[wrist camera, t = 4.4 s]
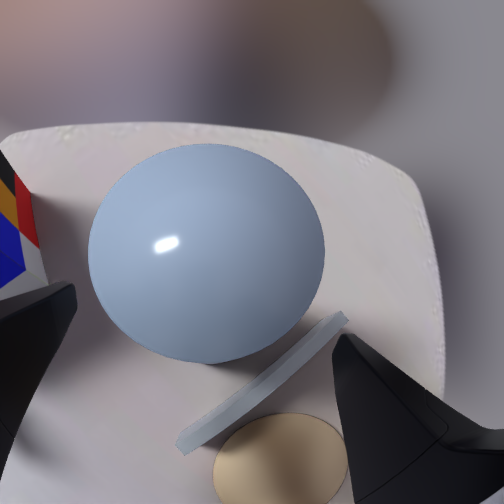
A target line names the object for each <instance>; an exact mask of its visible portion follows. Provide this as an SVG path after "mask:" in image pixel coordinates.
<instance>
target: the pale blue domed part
mask: <svg viewBox="0 0 504 504" xmlns="http://www.w3.org/2000/svg"><path fill="white" fill-rule="evenodd" d="M324 257H325V246H324V236H323V232H322V227H321V223H320V220H319V218H318V215H317V213H316V210H315V208H314V206H313V204H312V203H311V201H310V199H309V197H308V196H307V194H306V193H305V192H304V190H303V189H302V188H301V186H300V185H299V184H298V183H297V182H296V181H295V180H294V179H293V178H292V177H291V176H290V175H289V174H288V173H287V172H285V171H284V170H283V169H282V168H280V167H279V166H277V165H276V164H274V163H273V162H271V161H270V160H268V159H266V158H264V157H262V156H260V155H258V154H255V153H253V152H250V151H248V150H244V149H241V148H237V147H233V146H227V145H219V144H194V145H187V146H181V147H177V148H173V149H169V150H166V151H164V152H161V153H158V154H156V155H154V156H152V157H150V158H148V159H146V160H144V161H143V162H141V163H139V164H138V165H136V166H135V167H133V168H132V169H131V170H130V171H128V172H127V173H126V174H125V175H124V176H123V177H122V178H121V179H120V180H119V181H118V182H117V183H116V184H115V185H114V186H113V187H112V189H111V190H110V191H109V192H108V194H107V195H106V197H105V198H104V200H103V202H102V203H101V205H100V207H99V209H98V211H97V214H96V216H95V218H94V221H93V225H92V228H91V232H90V238H89V245H88V263H89V270H90V277H91V280H92V283H93V287H94V290H95V292H96V295H97V297H98V299H99V301H100V303H101V305H102V307H103V308H104V310H105V311H106V313H107V314H108V316H109V317H110V318H111V320H112V321H113V322H114V323H115V324H116V325H117V326H118V327H119V328H120V329H121V331H123V332H124V333H125V334H126V335H128V336H129V337H130V338H131V339H133V340H134V341H135V342H137V343H138V344H140V345H142V346H143V347H145V348H147V349H149V350H150V351H153V352H155V353H158V354H160V355H163V356H165V357H169V358H173V359H177V360H181V361H186V362H195V363H204V364H217V363H222V362H226V361H230V360H234V359H238V358H242V357H244V356H247V355H250V354H253V353H255V352H258V351H260V350H262V349H263V348H265V347H267V346H269V345H271V344H273V343H274V342H275V341H277V340H278V339H279V338H281V337H282V336H283V335H285V334H286V333H287V332H288V331H289V330H290V329H291V328H292V327H293V326H294V325H295V324H296V323H297V322H298V321H299V320H300V319H301V317H302V316H303V315H304V313H305V312H306V311H307V309H308V308H309V306H310V304H311V302H312V301H313V299H314V297H315V295H316V293H317V290H318V287H319V284H320V281H321V278H322V273H323V268H324Z"/></svg>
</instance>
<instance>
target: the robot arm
mask: <svg viewBox="0 0 504 504" xmlns="http://www.w3.org/2000/svg"><path fill="white" fill-rule="evenodd" d="M76 310H77V298H76V291H75V286H74V284H73V283H70V282H66V281H62V282H58V283H55V284H52V285H48V286H45V287H42V288H39V289H35V290H32V291H29V292H26V293H22V294H19V295H16V296H13V297H10V298H7V299H3V300H0V480H1V477H2V474H3V470H4V467H5V464H6V461H7V458H8V455H9V453H10V450H11V447H12V444H13V442H14V438H15V436H16V434H17V431H18V429H19V426H20V424H21V422H22V419H23V417H24V415H25V413H26V410H27V408H28V406H29V404H30V402H31V400H32V397H33V395H34V393H35V391H36V389H37V387H38V385H39V383H40V381H41V379H42V377H43V376H44V374H45V372H46V370H47V368H48V366H49V364H50V362H51V361H52V359H53V357H54V355H55V353H56V352H57V350H58V348H59V346H60V344H61V342H62V340H63V338H64V336H65V334H66V332H67V329H68V327H69V325H70V323H71V321H72V319H73V317H74V315H75V313H76ZM332 364H333V374H334V385H335V394H336V400H337V405H338V410H339V415H340V420H341V425H342V431H343V436H344V441H345V447H346V452H347V458H348V464H349V470H350V476H351V483H352V489H353V496H354V503H355V504H504V429H497V430H494V429H487V428H484V427H482V426H480V425H478V424H477V423H475V422H473V421H472V420H470V419H469V418H467V417H465V416H464V415H462V414H461V413H459V412H457V411H456V410H455V409H453V408H452V407H450V406H449V405H447V404H446V403H444V402H443V401H441V400H440V399H439V398H437V397H436V396H434V395H433V394H432V393H431V392H429V391H428V390H425V388H424V387H423V386H421V385H420V384H419V383H417V382H416V381H415V380H413V379H412V378H411V377H409V376H408V375H407V374H406V373H404V372H403V371H402V370H400V369H399V368H398V367H396V366H395V365H394V364H392V363H391V362H390V361H389V360H387V359H386V358H385V357H383V356H382V355H381V354H379V353H378V352H377V351H375V350H374V349H373V348H372V347H370V346H369V345H368V344H366V343H365V342H364V341H362V340H361V339H360V338H358V337H357V336H356V335H355V334H351V333H343V334H341V335H340V337H339V339H338V341H337V344H336V346H335V348H334V350H333V353H332Z"/></svg>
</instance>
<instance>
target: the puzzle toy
mask: <svg viewBox="0 0 504 504" xmlns="http://www.w3.org/2000/svg"><path fill="white" fill-rule="evenodd" d="M48 285H49V284H48V280H47V277H46V273H45V269H44V265H43V261H42V257H41V253H40V249H39V244H38V239H37V234H36V229H35V223H34V217H33V211H32V204H31V196H30V192H29V190H28V189H27V188H26V186H25V185H24V184H23V182H22V181H21V179H20V178H19V177H18V175H17V174H16V172H15V171H14V170H13V168H12V167H11V165H10V164H9V162H8V161H7V159H6V158H5V156H4V155H3V153H2V152H1V150H0V300H3V299H7V298H10V297H13V296H16V295H19V294H22V293H26V292H29V291H32V290H35V289H39V288H42V287H45V286H48Z"/></svg>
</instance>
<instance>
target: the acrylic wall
mask: <svg viewBox="0 0 504 504" xmlns="http://www.w3.org/2000/svg"><path fill="white" fill-rule="evenodd" d="M348 321H349V320H348V319H347V317H346V316H345V315H344V314H343V313H342V311H339V312H337V313H335V314H333V315H330V316H328V317H326V318H324V319H322V320H321V321H320V322H319V323H318V324H317V325H316V326H315V327H314V328H312V329H311V330H310V331H309V332H308V333H307V334H306V335H305V336H304V337H303V338H302V339H300V340H299V341H298V342H297V343H296V344H295V345H294V346H293V347H291V348H290V349H289V350H288V351H287V352H286V353H285V354H283V355H282V356H281V357H280V358H279V359H278V360H276V361H275V362H274V363H273V364H272V365H270V366H269V367H268V368H267V369H266V370H264V371H263V372H262V373H261V374H260V375H258V376H257V377H256V378H255V379H253V380H252V381H251V382H250V383H248V384H247V385H246V386H245V387H243V388H242V389H241V390H239V391H238V392H237V393H235V394H234V395H233V396H232V397H230V398H229V399H228V400H226V401H225V402H224V403H222V404H221V405H219V406H218V407H217V408H215V409H214V410H213V411H211V412H210V413H208V414H207V415H206V416H204V417H203V418H201V419H200V420H198V421H197V422H196V423H194V424H193V425H191V426H190V427H188V428H187V429H185V430H184V431H182V432H181V433H180V435H179V437H178V439H177V441H176V443H175V446H176V447H177V448H178V449H179V450H180V451H181V452H182V453H183V454H184V456H185V455H187V454H189V453H190V452H192V451H193V450H195V449H196V448H198V447H199V446H201V445H202V444H204V443H205V442H207V441H208V440H210V439H211V438H213V437H214V436H216V435H217V434H219V433H220V432H221V431H223V430H224V429H226V428H227V427H228V426H230V425H231V424H232V423H234V422H235V421H236V420H238V419H239V418H240V417H242V416H243V415H244V414H246V413H247V412H248V411H250V410H251V409H252V408H253V407H255V406H256V405H257V404H258V403H260V402H261V401H262V400H263V399H265V398H266V397H267V396H268V395H270V394H271V393H272V392H273V391H274V390H276V389H277V388H278V387H279V386H280V385H281V384H283V383H284V382H285V381H286V380H287V379H288V378H290V377H291V376H292V375H293V374H294V373H295V372H296V371H297V370H299V369H300V368H301V367H302V366H303V365H304V364H305V363H306V362H307V361H308V360H309V359H311V358H312V357H313V356H314V355H315V354H316V353H317V352H318V351H319V350H320V349H321V348H322V347H323V346H324V345H325V344H326V343H327V342H328V341H329V340H330V339H331V338H332V337H333V336H334V335H335V334H336V333H337V332H338V331H339V330H340V329H341V328H342V327H343V326H344V325H345V324H346V323H347V322H348Z"/></svg>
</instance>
